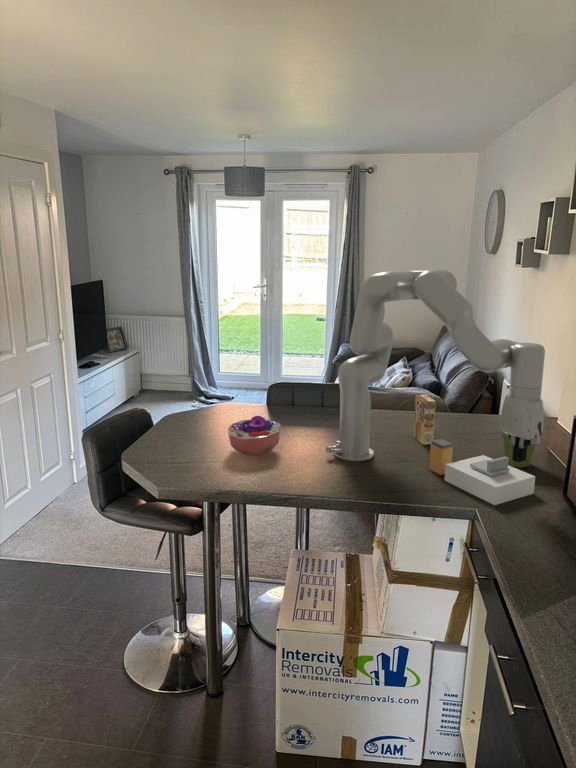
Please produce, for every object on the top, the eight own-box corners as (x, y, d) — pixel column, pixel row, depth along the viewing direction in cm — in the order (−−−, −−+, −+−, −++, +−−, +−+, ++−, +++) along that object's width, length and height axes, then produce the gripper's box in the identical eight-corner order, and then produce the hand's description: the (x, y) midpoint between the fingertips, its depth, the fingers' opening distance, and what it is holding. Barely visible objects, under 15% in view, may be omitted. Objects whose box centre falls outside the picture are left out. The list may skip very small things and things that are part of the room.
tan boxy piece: (440, 475, 165) (443, 446, 163) (429, 469, 169) (430, 440, 167) (451, 472, 167) (453, 443, 165) (439, 466, 171) (441, 438, 169)
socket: (494, 505, 146) (496, 487, 144) (444, 480, 161) (445, 464, 160) (533, 493, 153) (535, 476, 151) (481, 470, 168) (483, 455, 167)
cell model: (215, 458, 177) (214, 423, 174) (247, 439, 195) (246, 407, 192) (263, 467, 170) (263, 431, 167) (291, 446, 188) (291, 414, 185)
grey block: (491, 476, 151) (493, 462, 150) (469, 466, 157) (470, 453, 156) (509, 471, 154) (510, 458, 153) (487, 462, 160) (488, 449, 160)
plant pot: (491, 456, 180) (494, 422, 177) (529, 457, 179) (532, 423, 177) (504, 470, 168) (507, 435, 165) (544, 471, 168) (548, 435, 165)
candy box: (433, 444, 190) (436, 400, 186) (421, 445, 190) (424, 401, 186) (424, 436, 199) (426, 394, 195) (412, 436, 198) (415, 394, 194)
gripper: (491, 388, 147) (486, 454, 151) (540, 400, 134) (533, 472, 139) (510, 384, 151) (505, 449, 155) (560, 396, 138) (553, 467, 142)
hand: (518, 460), depth 147 cm, fingers closed
